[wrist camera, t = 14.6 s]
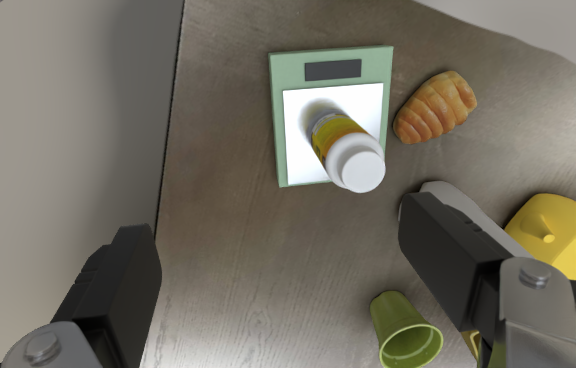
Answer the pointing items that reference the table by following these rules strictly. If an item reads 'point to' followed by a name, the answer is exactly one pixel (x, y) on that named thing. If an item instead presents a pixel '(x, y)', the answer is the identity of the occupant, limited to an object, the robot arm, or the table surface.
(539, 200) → the teapot
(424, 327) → the plant pot
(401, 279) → the table surface
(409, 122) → the pastry
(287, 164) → the scale
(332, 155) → the supplement bottle
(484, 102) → the table surface
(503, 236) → the bottle
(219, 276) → the table surface
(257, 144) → the table surface
